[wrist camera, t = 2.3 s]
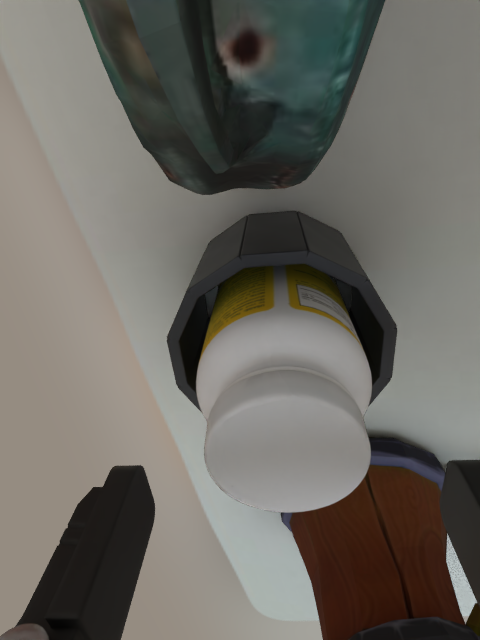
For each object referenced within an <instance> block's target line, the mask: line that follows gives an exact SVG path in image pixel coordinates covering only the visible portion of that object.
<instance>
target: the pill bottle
mask: <svg viewBox="0 0 480 640" xmlns="http://www.w3.org/2000/svg"><path fill="white" fill-rule="evenodd" d="M196 392H197V398H198V402H199V406H200V409H201V411H202V413H203V415H204V417H205V419H206V421H207V432H206V439H205V446H204V456H205V463H206V466H207V469H208V472H209V474H210V476H211V477H212V479H213V480H214V481H215V483H216V484H217V485H218V486H219V488H220V489H221V490H223V491H224V492H225V493H226V494H228V495H229V496H230V497H232V498H234V499H235V500H237V501H239V502H241V503H243V504H246V505H248V506H251V507H255V508H258V509H262V510H266V511H273V512H285V513H290V512H304V511H310V510H315V509H319V508H322V507H325V506H329V505H331V504H333V503H336V502H338V501H339V500H341V499H343V498H344V497H346V496H347V495H349V494H350V493H351V492H352V491H353V490H354V489H355V488H356V487H357V486H358V485H359V484H360V483H361V481H362V480H363V478H364V477H365V475H366V473H367V471H368V468H369V465H370V459H371V448H370V442H369V438H368V434H367V431H366V427H365V423H364V420H363V417H364V415H365V413H366V411H367V408H368V406H369V402H370V398H371V392H372V377H371V371H370V367H369V363H368V360H367V357H366V355H365V352H364V350H363V347H362V345H361V343H360V340H359V338H358V336H357V333H356V331H355V329H354V326H353V324H352V321H351V319H350V317H349V314H348V312H347V309H346V307H345V304H344V302H343V299H342V297H341V294H340V292H339V289H338V287H337V285H336V282H335V280H334V278H333V277H332V276H330V275H328V274H325V273H323V272H321V271H319V270H317V269H315V268H313V267H310V266H308V265H306V264H295V265H280V266H265V267H251V268H244V269H242V270H241V271H239V272H238V273H236V274H235V275H233V276H231V277H230V278H228V279H227V280H225V281H224V282H222V283H221V284H220V286H219V289H218V292H217V296H216V300H215V304H214V307H213V311H212V315H211V318H210V322H209V326H208V330H207V333H206V337H205V341H204V345H203V349H202V353H201V357H200V360H199V364H198V370H197V378H196Z"/></svg>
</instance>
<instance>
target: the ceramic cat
mask: <svg viewBox="0 0 480 640" xmlns="http://www.w3.org/2000/svg"><path fill="white" fill-rule="evenodd" d="M79 2H80V4H81V7H82V9H83V12H84V15H85V17H86V20H87V23H88V25H89V28H90V31H91V33H92V36H93V39H94V41H95V44H96V47H97V49H98V52H99V55H100V57H101V60H102V62H103V64H104V67H105V69H106V71H107V74H108V76H109V78H110V81H111V83H112V85H113V88H114V90H115V92H116V95H117V96H118V98H119V100H120V101H121V103H122V105H123V107H124V109H125V112H126V114H127V116H128V118H129V121H130V123H131V125H132V127H133V129H134V131H135V133H136V135H137V136H138V138H139V140H140V142H141V143H142V145H143V147H144V148H145V149H146V150H147V151H148V152H150V153H151V154H152V156H153V157H154V159H155V160H156V161H157V163H158V164H159V166H160V167H161V169H162V170H163V172H164V173H165V174H166V176H167V177H168V179H169V180H170V181H171V182H173V183H175V184H177V185H179V186H181V187H184V188H186V189H188V190H190V191H193V192H195V193H198V194H202V195H212V194H216V193H219V192H223V191H227V190H230V189H235V188H255V189H279V188H287V187H290V186H294V185H296V184H299V183H301V182H302V181H304V180H306V179H307V178H308V176H309V175H310V174H311V173H312V172H313V171H314V170H315V168H316V167H317V165H318V164H319V162H320V161H321V159H322V158H323V156H324V155H325V153H326V152H327V151H328V149H329V148H330V146H331V144H332V142H333V140H334V138H335V136H336V134H337V132H338V130H339V128H340V125H341V123H342V121H343V118H344V116H345V113H346V111H347V108H348V105H349V103H350V100H351V97H352V95H353V92H354V89H355V87H356V84H357V81H358V78H359V75H360V72H361V69H362V66H363V63H364V61H365V58H366V55H367V52H368V49H369V46H370V43H371V40H372V37H373V34H374V31H375V28H376V26H377V23H378V20H379V17H380V14H381V11H382V8H383V5H384V2H385V0H79Z"/></svg>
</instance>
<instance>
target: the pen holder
mask: <svg viewBox="0 0 480 640" xmlns="http://www.w3.org/2000/svg"><path fill="white" fill-rule="evenodd" d="M295 264H306V265H308V266H310V267H313V268H315V269H317V270H319V271H321V272H323V273H325V274H328V275H330V276H332V277H334V278H336V279H338V280H340V281H343V282H345V283H347V284H349V285H351V286H352V300H351V310H350V312H349V313H348V314H349V317H350V319H351V321H352V324H353V326H354V329H355V331H356V333H357V336H358V338H359V340H360V343H361V345H362V347H363V350H364V352H365V355H366V357H367V360H368V363H369V367H370V371H371V377H372V392H371V398H370V402H369V405H370V404H371V403H372V402H373V401H374V399H375V398H376V397H377V396H378V395H379V393H380V392H381V391H382V390H383V389H384V387H385V386H386V385H387V384H388V383H389V381H390V380H391V379H390V378H392V371H393V362H394V354H395V345H396V336H397V328H396V324H395V322H394V320H393V319H392V317H391V315H390V314H389V312H388V310H387V309H386V307H385V305H384V304H383V302H382V300H381V299H380V297H379V295H378V294H377V292H376V290H375V289H374V287H373V285H372V284H371V282H370V280H369V279H368V277H367V275H366V274H365V272H364V270H363V269H362V267H361V265H360V264H359V262H358V260H357V259H356V257H355V255H354V254H353V252H352V250H351V249H350V247H349V245H348V244H347V242H346V240H345V239H344V237H343V235H342V234H341V233H340V232H339V231H338V230H336V229H334V228H332V227H330V226H328V225H325V224H323V223H321V222H319V221H317V220H315V219H313V218H311V217H309V216H307V215H305V214H303V213H301V212H299V211H298V212H296V211H287V212H275V213H263V214H251V215H249V216H245V217H244V218H242V219H241V220H240V221H238V222H237V223H235V224H234V225H232V226H231V227H230V228H228V229H227V230H225V231H224V232H223V233H221V234H220V235H218V236H217V237H215V238H214V239H213V240H211V241H210V243H209V244H208V246H207V248H206V250H205V252H204V255H203V257H202V259H201V261H200V263H199V265H198V267H197V270H196V272H195V274H194V276H193V278H192V280H191V282H190V285H189V287H188V289H187V291H186V293H185V296H184V298H183V300H182V303H181V305H180V308H179V310H178V312H177V315H176V317H175V319H174V322H173V324H172V327H171V329H170V331H169V334H168V336H167V344H168V348H169V353H170V357H171V362H172V366H173V371H174V375H175V380H176V384H177V386H178V388H179V389H180V390H181V391H182V392H183V393H184V394H185V395H186V396H187V398H188V399H189V400H190V401H191V402H192V403H193V404H194V405H195V406H196V407H197V408H198V409H199V410H200V411H201V409H200V406H199V402H198V398H197V392H196V378H197V370H198V364H199V360H200V357H201V353H202V349H203V345H204V341H205V337H206V333H207V330H208V326H209V322H210V319H209V318H208V316H207V309H206V303H205V297H204V294H205V293H207V292H208V291H210V290H211V289H213V288H215V287H216V286H218V285H219V284H221V283H222V282H224V281H225V280H227V279H228V278H230V277H231V276H233V275H235V274H236V273H238V272H239V271H241V270H242V269H244V268H251V267H265V266H280V265H295ZM368 407H369V406H368ZM201 412H202V411H201Z"/></svg>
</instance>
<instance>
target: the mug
mask: <svg viewBox="0 0 480 640" xmlns="http://www.w3.org/2000/svg"><path fill="white" fill-rule="evenodd" d="M369 442H370V448H371V459H370V465H369V468H368V471H367V473H366V475H365V477H364V478H363V480H362V481H361V483H360V484H359V485H358V486H357V487H356V488H355V489H354V490H353V491H352V492H351V493H350V494H349V495H347V496H346V497H344V498H343V499H341V500H339V501H338V502H336V503H333V504H331V505H329V506H325V507H322V508H319V509H315V510H310V511H304V512H290V513H285V512H281V518H282V522H283V523H284V524H285V525H286V526H287V527H288V529H289V530H290V531H291V532H292V533H293V536H294V538H295V541H296V543H297V546H298V548H299V551H300V553H301V556H302V559H303V561H304V564H305V566H306V569H307V572H308V574H309V577H310V580H311V583H312V587H313V592H314V596H315V601H316V605H317V610H318V615H319V620H320V625H321V631H322V637H323V640H480V607H479V605H478V603H475V605H474V607H473V609H472V611H471V614H470V616H469V618H468V620H467V622H466V624H465V622H464V619H463V617H462V615H461V612H460V609H459V605H458V602H457V598H456V595H455V591H454V588H453V585H452V581H451V577H450V574H449V570H448V566H447V563H446V547H447V531H446V529H445V526H444V523H443V520H442V517H441V512H440V496H441V491H442V486H443V482H444V477H445V472H444V470H443V468H442V466H441V464H440V462H439V461H438V459H437V458H436V457H435V455H434V454H432V453H430V452H427V451H424V450H422V449H419V448H416V447H414V446H411V445H409V444H406V443H404V442H401V441H399V440H396V439H394V438H369Z"/></svg>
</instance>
